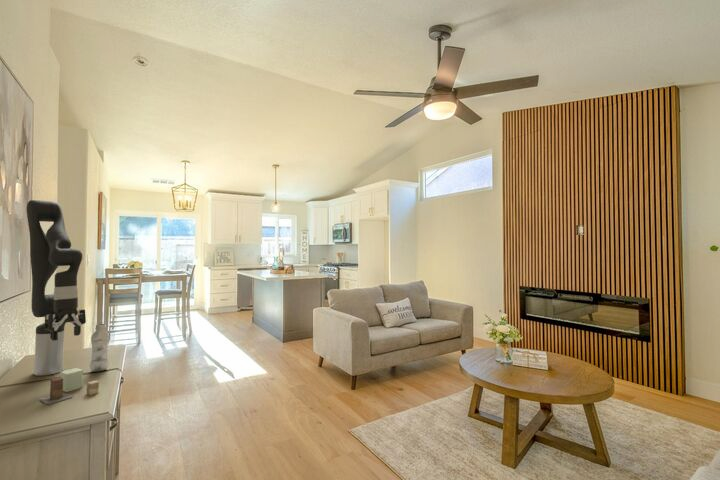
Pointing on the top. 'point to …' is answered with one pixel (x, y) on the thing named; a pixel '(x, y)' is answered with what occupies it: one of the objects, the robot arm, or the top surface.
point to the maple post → (92, 387)
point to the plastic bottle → (99, 348)
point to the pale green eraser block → (72, 379)
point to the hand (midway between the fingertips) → (66, 337)
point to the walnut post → (56, 392)
